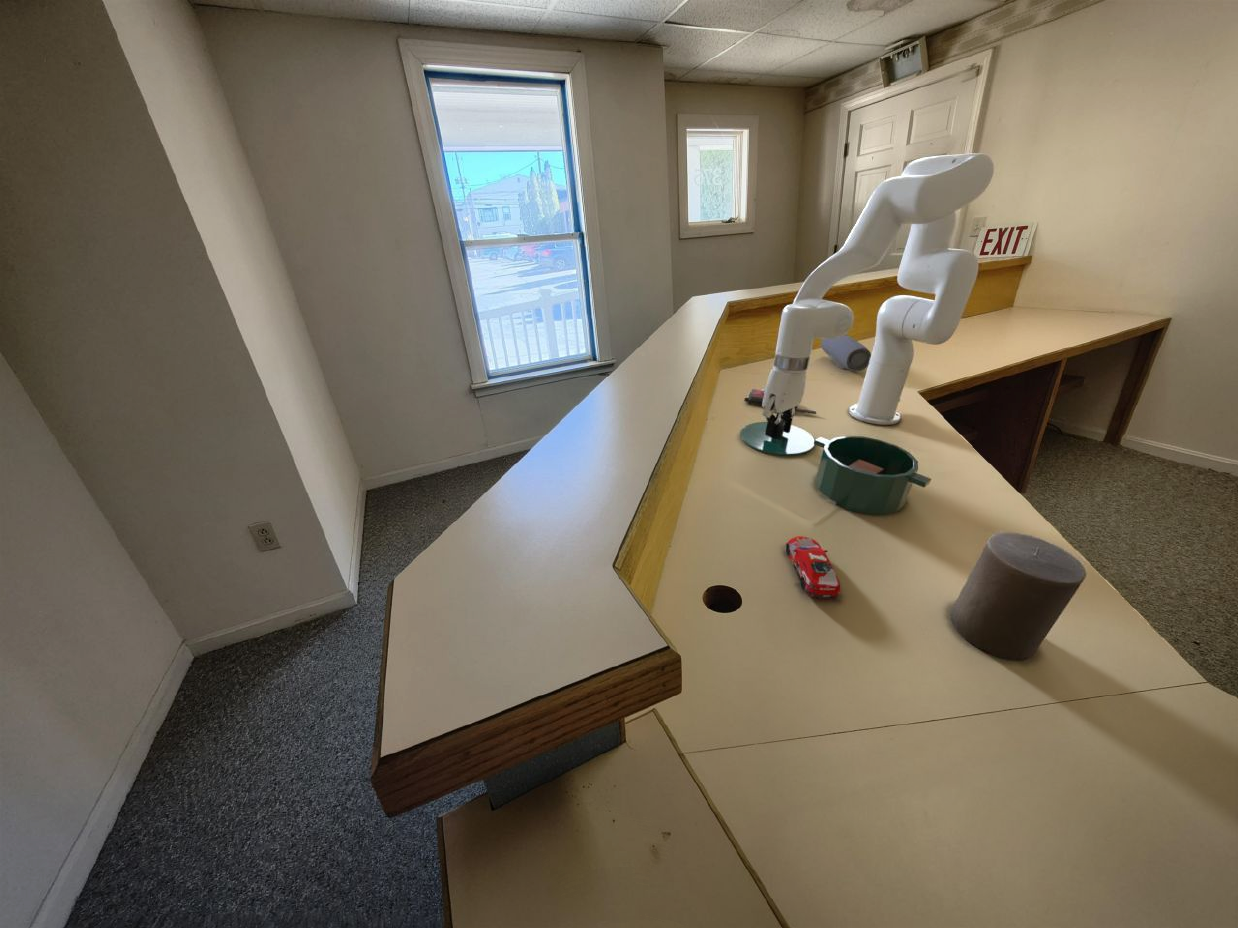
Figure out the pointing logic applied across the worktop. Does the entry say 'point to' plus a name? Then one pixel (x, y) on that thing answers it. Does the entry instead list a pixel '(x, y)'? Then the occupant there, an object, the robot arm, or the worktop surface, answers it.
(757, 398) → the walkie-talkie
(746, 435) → the lid
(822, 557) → the race car
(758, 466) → the worktop surface
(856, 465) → the block
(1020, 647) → the pillar candle
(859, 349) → the bluetooth speaker
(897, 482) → the pot
